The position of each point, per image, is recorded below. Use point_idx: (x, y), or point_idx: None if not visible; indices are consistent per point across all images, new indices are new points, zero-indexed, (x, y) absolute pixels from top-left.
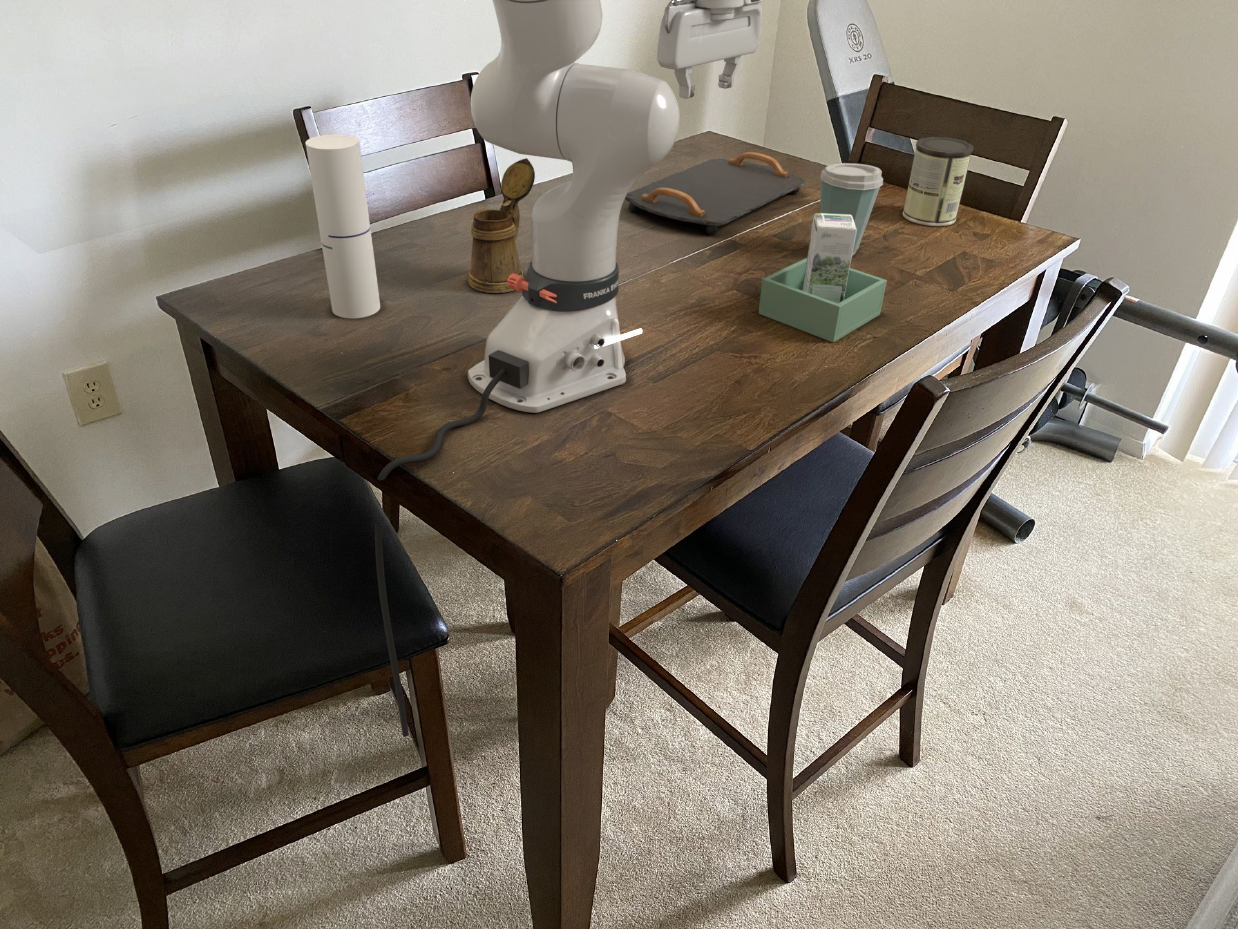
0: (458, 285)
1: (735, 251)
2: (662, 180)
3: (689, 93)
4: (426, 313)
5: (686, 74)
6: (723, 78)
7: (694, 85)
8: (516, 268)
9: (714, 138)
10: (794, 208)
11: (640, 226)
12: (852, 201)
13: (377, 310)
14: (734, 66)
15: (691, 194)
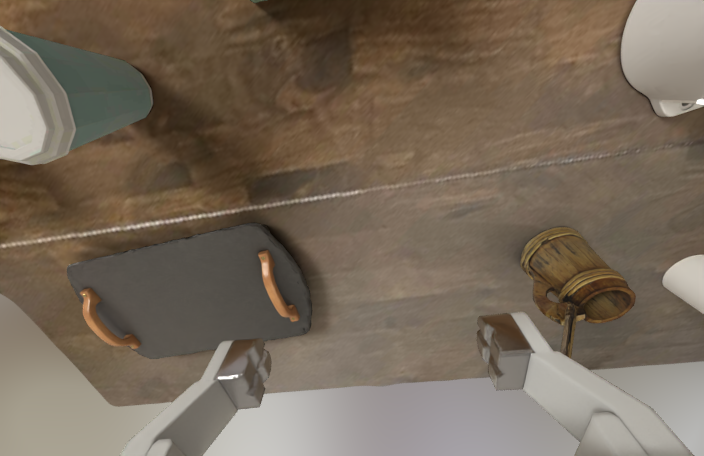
0: None
1: (268, 174)
2: None
3: (526, 323)
4: (662, 231)
5: (644, 414)
6: (252, 383)
7: (502, 354)
8: (558, 244)
9: (112, 399)
10: (115, 234)
11: (322, 283)
12: (46, 47)
13: (686, 258)
14: (175, 426)
15: (236, 302)
